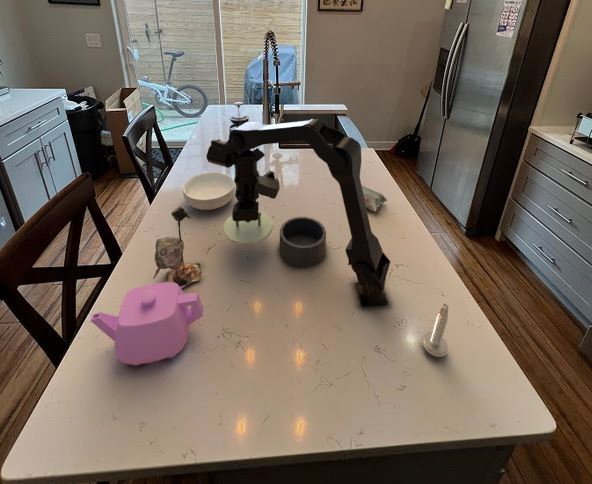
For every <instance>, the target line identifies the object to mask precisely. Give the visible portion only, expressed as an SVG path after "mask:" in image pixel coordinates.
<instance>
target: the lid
mask: <svg viewBox="0 0 592 484" xmlns="http://www.w3.org/2000/svg"><path fill="white" fill-rule="evenodd" d="M273 229H274V222H273V219H272V218H271V217H270V215H268V214H267V213H265V212H263V211H260V210H259V216H258V220H256V221H250V222H246V221H233V219H232V215H231V216H229V217H228V218H227V219H226V220H225V222H224V223H223V227H222V230H223V235H224V236H225V237H226V239H228V240H229V241H231V242H233V243H235V244H239V245H252V244H257V243H260V242H262V241H264V240H266V239H267V238H268V237H269V236H270V235H271V234H272V232H273V231H274V230H273Z"/></svg>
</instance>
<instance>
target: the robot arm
mask: <svg viewBox="0 0 592 484" xmlns="http://www.w3.org/2000/svg"><path fill="white" fill-rule="evenodd" d="M231 130H232V131H230V134H229V133H228V139H227V140H222V139H220V138H218V137H215V138H213V139H212V140H210V145H209V147H208V149H207V152H206V160H207V162H208V163H210V164H213V165H216V166H220V167H222V168H227V169H230V168H232V167H233V166H234V178H233V180H234V183H235V191H234V197H235V198H236V200H237V202H236V201H235V203H234V204H233V205H232V212H231V216H232V219H233V221H246V222H250V221H256V220H258V216H259V211H260V209H259V205H260V204H259V203H260V201H257V200H258V199H259V198H260V195H261V196H264V197H266V198H270V199H271V200H272V199H273V200H275V199H276V198H277V196H278V193H279V191H280V187H281V186H280V185H281V184H280V181H279V178H278V177H276V173H275V171H273V170H269V171H267V172H266V173H265V174H263V175H260V171H259V169H258V162H259V161H260V160H261V159H263V158H264V157H265V156H266V154H265V153H264V152H263V151H262V150H260V148H259V147H260V146H264V145H273V144H284V143H286V144H287V143H299V142H305V143H307V144H308V145H309V146H310V147H311V149H312V150H313V152H314V153H315V154H316V156H317V157H318V158H319V159H320V160H321V161H323V162H324V163H325V164H326V165H327V168H328V170H329V172H330V175H331V177H332V178H333V179H334V180H335V181H336V183H338V185H339V189H340V192H341V197H342V201H343V206H344V210H345V214H346V218H347V222H348V228H349V232H350V236H351V238H350V240H349V241H348V244H347V246H346V248H345V254H346V257H347V259H348V260H347V261H348V263H347V265H348V266H350V267H351V269H352V271H353V272H354V273H355V275H356V279H357V281H356V282H354V288H355V291H356V295H357V298H358V301H359V304H360V306H361V307H362V308H363V307H379V306H380V307H381V306H388V304H389V302H388V299H387V297H386V294H385V286H386V280H387V275H388V271H389V269H390V265H391V260H390V259H389V258H388V256H387V255H386V254H385V252H384V251H383V249H382V246H381V243H380V241H379V239H378V237H377V236H376V235H375V234H374V233H373V231H372V228H371V223H370V219H369V214H368V210H367V209H368V208H366V204H365V199H364V195H363V190H362V186H363V185H362V181H361V169H362V146H361V144H360V142H359V141H358V140H356V139H354V138H353V137H350V136H348V135H346V134H345V133H344V132H343V131H341V130H339V129H337V128H334V127H332V126H329V125H327V124H326V123H324V122H323V121H321V120H320V119H318V118H311V119H308V120H302V121H301V120H300V121H292V122H284V123H283V122H282V123H274V124H264V123H262V122H257V121H249V122H246V123H244V124H242V125H241V126H239V127H234V129H231ZM328 143H331V144H332V145H333V146H331V145H330V144H328Z"/></svg>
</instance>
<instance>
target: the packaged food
mask: <svg viewBox="0 0 592 484" xmlns="http://www.w3.org/2000/svg"><path fill="white" fill-rule="evenodd" d="M362 190H363V195H364V199H365V204H366V209H369V210H370V211H372V212H376V211H377V210H378V207H379V208H380V207H381V204H383V203H385V202H388V199H387V198H386V197H385V196H384V194H382V193H381V192H378V191H376V190H373V189H370V188H369V187H367V186H365V185H362Z"/></svg>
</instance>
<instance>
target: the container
mask: <svg viewBox="0 0 592 484" xmlns="http://www.w3.org/2000/svg"><path fill="white" fill-rule="evenodd" d="M326 242H327V231H326V227H325V226H324V225H323V224H322V222H320V221H318V220H317V219H315V218H312V217H307V216H296V217H292V218H289V219H287V220H286V221H285V222H283V223H282V224H281V227H280V229H279V253H280V256H281V257H282V259H283V260H284V261H285V262H287V264H290V265H292V266H295V267H300V268H301V267H302V268H304V267H305V268H306V267H311V266H314V265H316V264H317V263H319V262H320V261H321V260H323V258H324V256H325V251H326Z"/></svg>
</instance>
